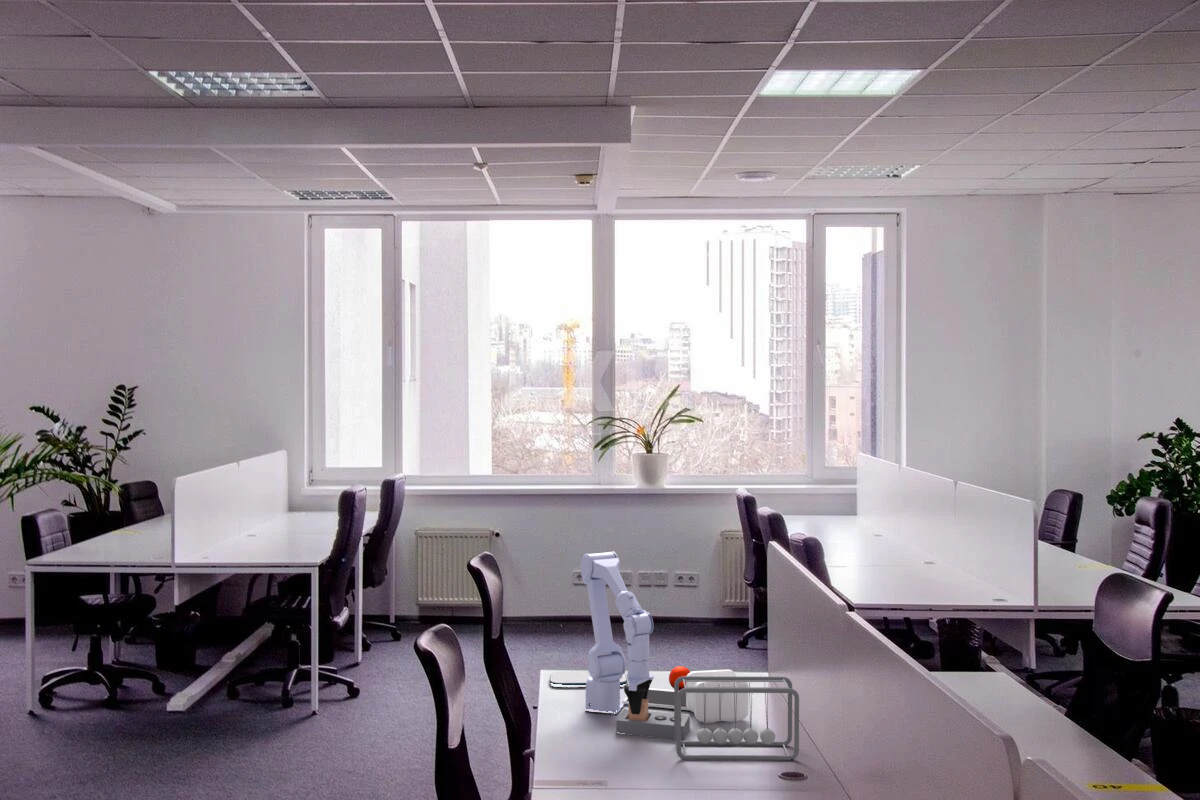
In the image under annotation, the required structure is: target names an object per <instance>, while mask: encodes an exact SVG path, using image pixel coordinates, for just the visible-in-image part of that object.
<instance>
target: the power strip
mask: <svg viewBox="0 0 1200 800" xmlns="http://www.w3.org/2000/svg"><path fill="white" fill-rule="evenodd" d="M615 722H616V723H615V725H616V726H615V728H616V729H615V732H619V733H625V734H624V735H627V734H632V735H631V736H638V735H643V736H642V737H648V736H652V737H651V738H659V737H661V739H669V740H670V739H673V740H675V738H674V712H673V713H672V712H660V711H651V710H650V711H649V710H648V721H641V720H630V719H629V708H628V709H627V708H624V709H623V710H622V712H621V713H620V714H619V716H618V717H617V718H616V721H615ZM690 722H691V719H690V714H684V713H683V714H682V713H681V741H685V738H686V736H687V734H688V732H689V730H690V726H691V725H690V724H691V723H690Z"/></svg>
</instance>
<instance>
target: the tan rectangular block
mask: <svg viewBox="0 0 1200 800" xmlns="http://www.w3.org/2000/svg"><path fill="white" fill-rule="evenodd" d="M628 710H629V719H630V720H641V721H648V711H649V706H648V699H642V704H641V711H640V714H632V713H631V709H630V705H629V704H628Z"/></svg>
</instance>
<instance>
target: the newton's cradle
mask: <svg viewBox="0 0 1200 800" xmlns="http://www.w3.org/2000/svg"><path fill="white" fill-rule="evenodd" d="M681 681H683V683H684V687H685V688H683V689H681V690H680V691H679V683H680V682H681ZM685 682H719V684H720V682H734V687H686V684H685ZM735 682H747V683H748V686H749V687H735V685H736V684H735ZM751 683H763V684H764V685H765V686H764V687H763V686H762V687H758V686H757V687H754V686H753V685H751ZM767 683H784V685H785V687H783V686H782V687H780V686H779V687H773V686H772V687H771V686H770V687H768V685H767ZM704 685H705V683H704ZM720 686H721V685H720ZM673 690H674V709H673V710H674V711H673V713H674V738H675V739H674V742H675V743H676V745H675V747H676V754H677V756H678V758H680V759H681V760H683V761H790V760H789V759H794V760H795V759H797V757H798V756H799V753H800V694H799V693H798V691H796V689H794V688H793V682H792V681H791V679H790V678H788V677H786V676H736V677H721V676H683V677H679V678H678V679H677V680H676V681H675V684H674V688H673ZM683 693H705V701H704V723H703V728H699V730H698V732H697V735H696V737H697V740H695V741H693V740H691V741H690V740H681V714H682V709H681V696H682V694H683ZM706 693H719V721H718V723H719V727H718V728H715V730H714V731H713V732H712V731H711V730H710V729H709V728H707V727H706V723H705V712H706ZM720 693H734V708H735V693H736V706H737V693H749V697H751V694H764V699H765V701H764V702H765V703H766V708H765V714H766V715H765V717H766V727H765V728H764V729H762V730H761V731H760V734H758V731H757V730H756V729H754V728H752V716H753V715H752V714H753V699H750V711H749V722H750V723H749V726H750V727H749V728H746V729H745V730H744V731H743V732H742V730H741V729H739V728H737V721H736V719H735V721H734V728H731V729H730V730H729V731H728V733H727V731H726V730H725V729H723V727H721V726H722V724H721V722H722V721H721V702H720ZM769 694H787V739H786V740H783V741H775V739H776V734H775V731H774V730H773V729H771V728H769ZM793 697H794V698H793ZM793 699H794V712H793ZM793 713H794V718H793ZM793 719H794V723H793ZM793 725H794V732H793ZM793 733H794V735H793ZM759 737H760V740H759ZM793 737H794V738H793ZM793 739H794V741H793ZM727 740H729V741H727ZM743 740H744V741H743ZM792 741H793V742H794V744H793V746H794V751H793V753H792V754H791V755H790V754H789V752H788V749H787V748H786V746H788V745H790V743H791V742H792ZM690 746H691V747H692V746H693V747H696V746H697V747H783V749H784V752H785V753H786V755H757V754H756V755H747V754H746V755H733V754H732V755H731V754H730V755H725V754H723V755H719V754H717V755H715V754H712V755H711V754H710V755H708V754H706V755H705V754H704V755H703V754H701V755H699V754H695V755H694V754H687V749H686V747H690ZM682 748H683V752H682ZM683 753H684V754H683Z"/></svg>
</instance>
